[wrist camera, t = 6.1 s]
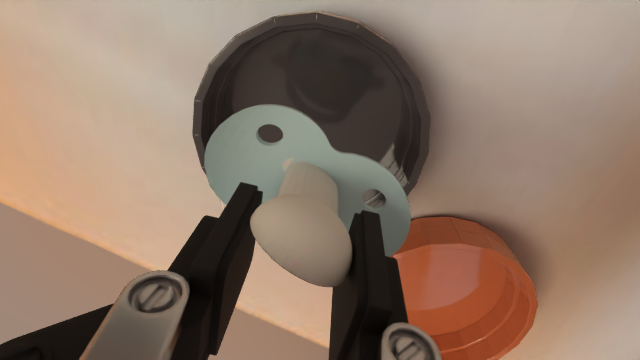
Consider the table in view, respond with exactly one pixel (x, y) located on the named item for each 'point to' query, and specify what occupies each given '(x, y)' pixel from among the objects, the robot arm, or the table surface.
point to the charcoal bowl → (322, 90)
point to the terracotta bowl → (465, 288)
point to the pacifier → (303, 191)
